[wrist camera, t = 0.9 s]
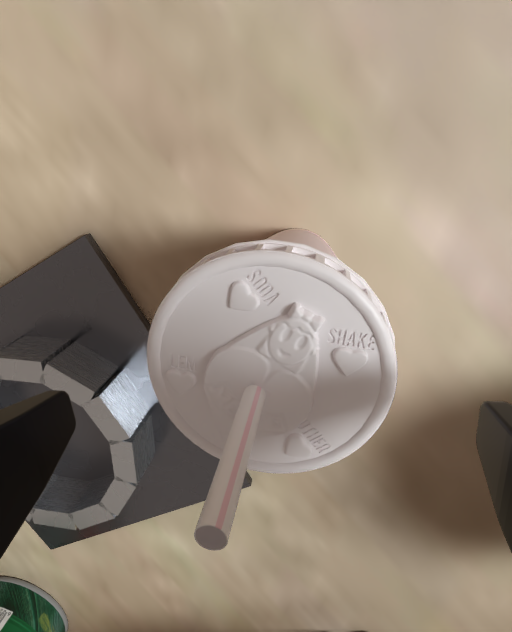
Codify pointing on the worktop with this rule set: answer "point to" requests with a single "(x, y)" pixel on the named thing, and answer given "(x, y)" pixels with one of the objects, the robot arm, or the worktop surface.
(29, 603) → the canned tomato
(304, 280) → the smoothie
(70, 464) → the duct collar
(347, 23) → the worktop surface
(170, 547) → the worktop surface
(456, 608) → the worktop surface
